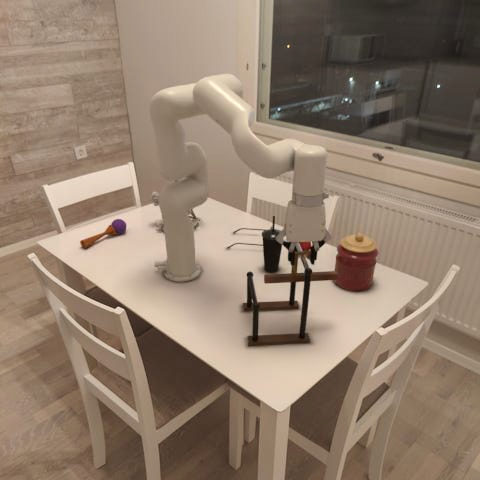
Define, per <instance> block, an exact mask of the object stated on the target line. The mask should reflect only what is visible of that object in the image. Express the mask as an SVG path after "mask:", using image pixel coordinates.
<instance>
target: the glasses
mask: <svg viewBox="0 0 480 480" xmlns="http://www.w3.org/2000/svg"><path fill="white" fill-rule="evenodd" d="M270 229H272V226H271V227H270ZM241 230H250V231H262V232H263V231H265V230H266V229H263V228H262V229H260V228H246V227H243V228H238V229H236V230H234V231H232V232H233V234H236V233H237V232H239V231H241ZM235 245H247V246H260V247H261V246H262V247H263V244H261V243H260V244H258V243H244V242H235V243H233V244H231V245H229V246H227V247H226V248H227V249H230V248H231V247H233V246H235Z"/></svg>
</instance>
